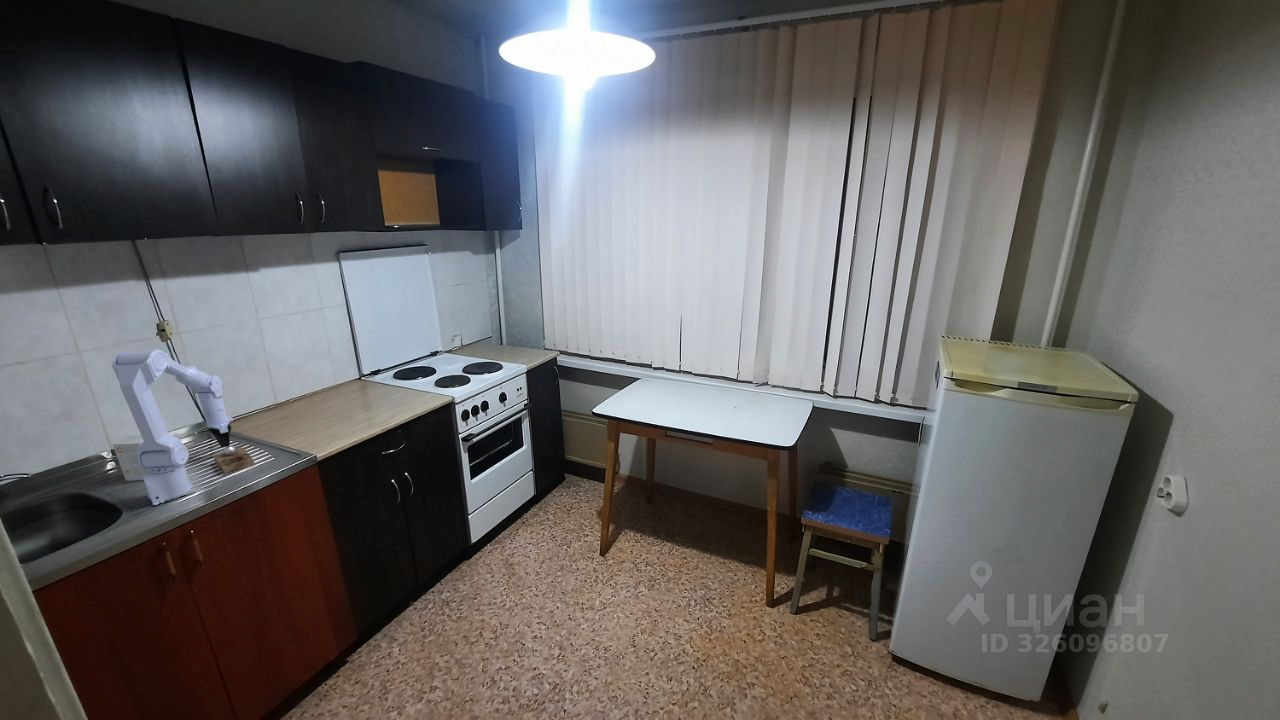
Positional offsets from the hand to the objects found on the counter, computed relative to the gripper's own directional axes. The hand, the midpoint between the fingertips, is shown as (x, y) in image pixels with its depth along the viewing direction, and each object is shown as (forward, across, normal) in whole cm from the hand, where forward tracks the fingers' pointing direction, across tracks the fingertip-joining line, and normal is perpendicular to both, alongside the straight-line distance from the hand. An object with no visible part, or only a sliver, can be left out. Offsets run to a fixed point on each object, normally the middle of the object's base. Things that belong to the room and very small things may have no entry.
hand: (225, 446), depth 171 cm
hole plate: (+4, -9, 0) cm, 10 cm away
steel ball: (0, -6, 0) cm, 6 cm away
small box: (+4, +4, +20) cm, 21 cm away
